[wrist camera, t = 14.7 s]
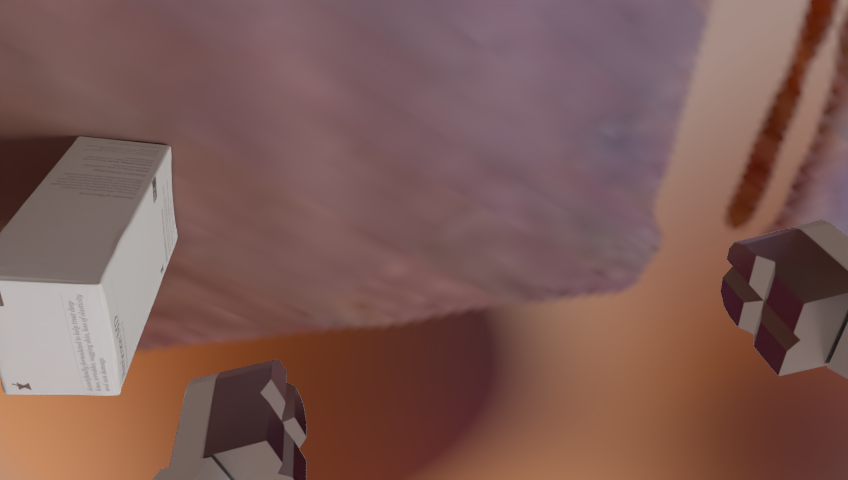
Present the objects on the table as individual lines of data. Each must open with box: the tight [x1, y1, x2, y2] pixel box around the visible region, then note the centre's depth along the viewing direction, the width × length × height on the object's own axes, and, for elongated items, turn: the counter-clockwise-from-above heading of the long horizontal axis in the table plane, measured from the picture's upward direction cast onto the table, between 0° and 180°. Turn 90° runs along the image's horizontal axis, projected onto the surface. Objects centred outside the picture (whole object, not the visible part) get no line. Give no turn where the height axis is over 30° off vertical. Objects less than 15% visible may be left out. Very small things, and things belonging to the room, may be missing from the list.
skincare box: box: [0, 136, 178, 396], centre depth 33 cm, size 8×6×15 cm
